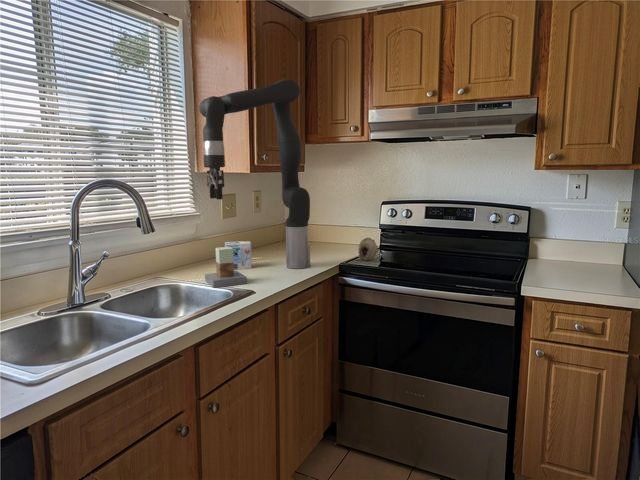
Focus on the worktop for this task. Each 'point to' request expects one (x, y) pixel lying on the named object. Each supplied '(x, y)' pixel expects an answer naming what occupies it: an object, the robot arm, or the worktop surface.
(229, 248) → the green block
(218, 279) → the slate base
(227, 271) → the walnut block
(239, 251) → the light bulb box
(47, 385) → the worktop surface
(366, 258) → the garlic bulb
